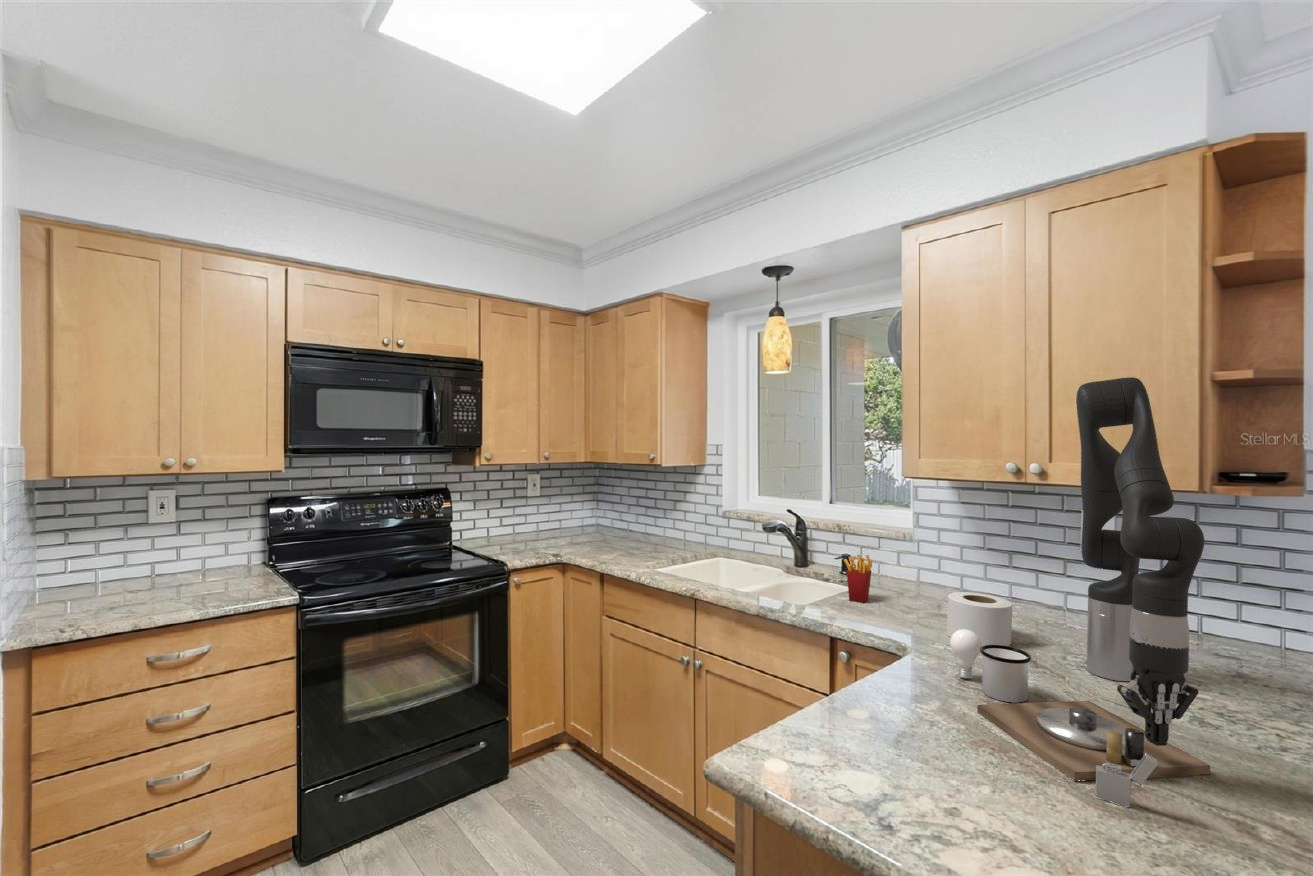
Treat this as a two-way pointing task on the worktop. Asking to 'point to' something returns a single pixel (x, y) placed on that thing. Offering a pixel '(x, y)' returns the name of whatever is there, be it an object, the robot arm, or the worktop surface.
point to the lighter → (1121, 780)
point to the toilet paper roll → (980, 617)
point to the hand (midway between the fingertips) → (1156, 743)
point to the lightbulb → (965, 650)
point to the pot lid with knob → (1090, 731)
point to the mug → (1005, 673)
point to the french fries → (858, 579)
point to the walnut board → (1081, 760)
